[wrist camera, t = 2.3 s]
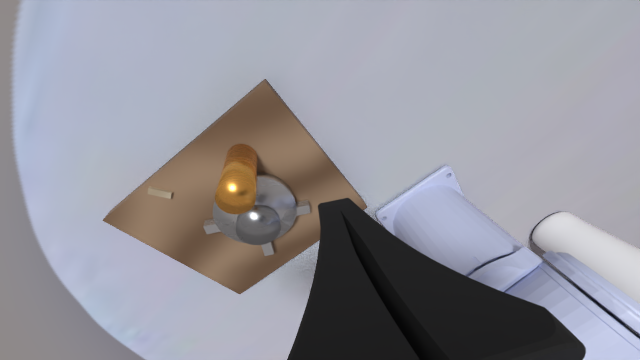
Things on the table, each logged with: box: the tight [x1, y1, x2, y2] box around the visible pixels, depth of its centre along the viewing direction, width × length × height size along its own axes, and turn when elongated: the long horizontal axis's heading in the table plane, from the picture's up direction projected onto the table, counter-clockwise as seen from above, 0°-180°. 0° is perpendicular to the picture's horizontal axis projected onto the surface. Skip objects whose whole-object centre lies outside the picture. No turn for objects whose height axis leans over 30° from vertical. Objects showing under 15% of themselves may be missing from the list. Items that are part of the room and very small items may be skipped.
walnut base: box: [103, 79, 367, 294], centre depth 20 cm, size 13×15×1 cm
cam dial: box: [203, 144, 310, 256], centre depth 17 cm, size 10×8×5 cm
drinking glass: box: [532, 212, 640, 304], centre depth 25 cm, size 7×7×15 cm
